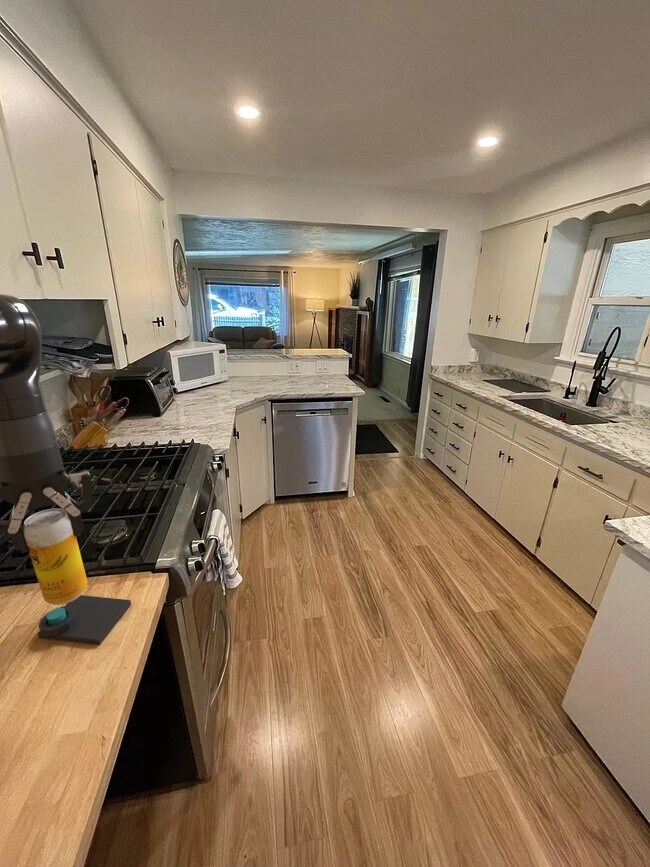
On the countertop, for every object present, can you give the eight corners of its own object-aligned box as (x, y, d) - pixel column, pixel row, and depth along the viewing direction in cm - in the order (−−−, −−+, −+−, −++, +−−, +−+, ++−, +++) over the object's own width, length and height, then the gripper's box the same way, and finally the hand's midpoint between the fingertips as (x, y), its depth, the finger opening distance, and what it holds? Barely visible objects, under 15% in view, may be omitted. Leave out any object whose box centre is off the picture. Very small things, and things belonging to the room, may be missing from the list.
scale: (35, 640, 70) (30, 628, 69) (75, 599, 80) (72, 588, 79) (98, 647, 69) (95, 635, 68) (131, 604, 79) (129, 594, 78)
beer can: (35, 603, 58) (9, 525, 53) (69, 577, 64) (48, 504, 58) (65, 611, 57) (41, 532, 52) (97, 584, 62) (78, 510, 57)
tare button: (44, 624, 71) (42, 618, 70) (56, 612, 73) (55, 606, 73) (58, 626, 70) (56, 620, 70) (70, 613, 73) (68, 608, 73)
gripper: (81, 427, 58) (101, 515, 64) (-43, 446, 49) (-7, 546, 55) (86, 441, 52) (108, 536, 58) (-51, 465, 44) (-10, 574, 50)
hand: (52, 540), depth 57 cm, fingers closed on beer can, 6 cm apart
